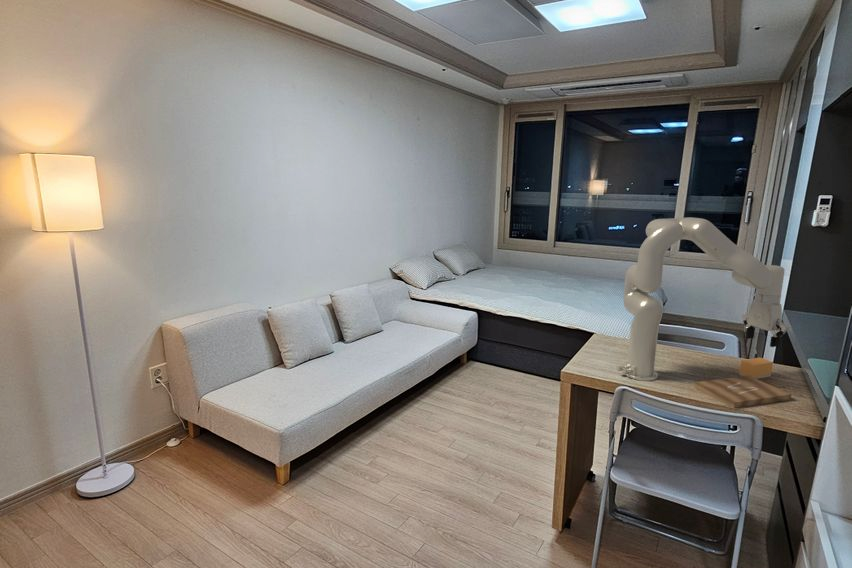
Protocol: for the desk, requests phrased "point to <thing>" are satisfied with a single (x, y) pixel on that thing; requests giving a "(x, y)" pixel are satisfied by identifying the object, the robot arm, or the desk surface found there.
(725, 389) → the walnut board
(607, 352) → the desk surface
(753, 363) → the block
